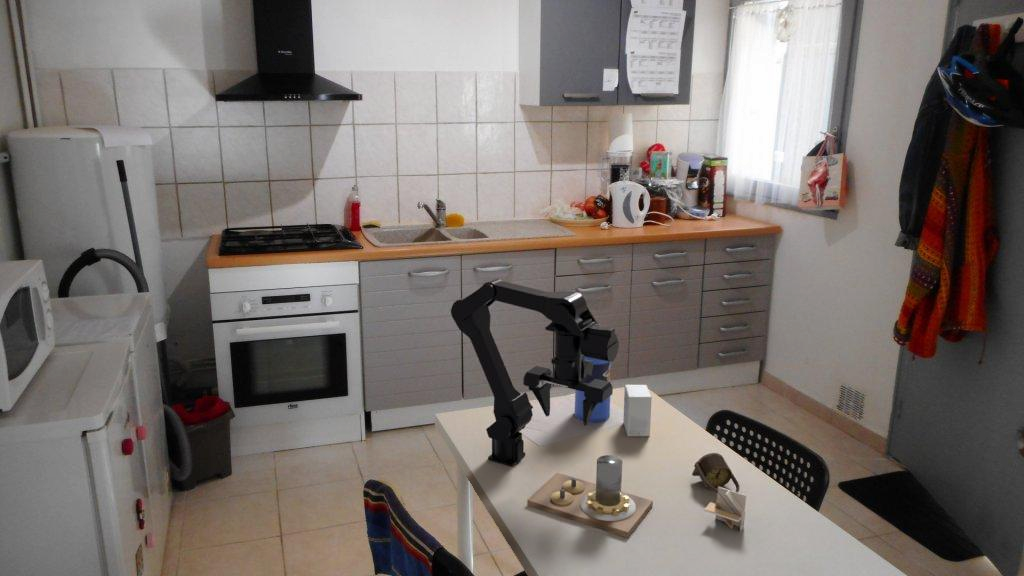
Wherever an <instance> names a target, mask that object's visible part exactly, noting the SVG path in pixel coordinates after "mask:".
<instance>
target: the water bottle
mask: <svg viewBox="0 0 1024 576" xmlns="http://www.w3.org/2000/svg"><path fill="white" fill-rule="evenodd" d="M594 326H599V327H603V326H602V324H600V323H599V322H597V324H596V325H594ZM582 355H583V354H582ZM584 357H585V356H584ZM585 360H589V361H593V362H594V363H593V368H592V374H591V376H590V375H586V378H585V379H581V382H585V383H590V382H592V381H593V380H594V379H599V380H603V381H608V382H610V383H611V378H610V374H611V373H610V372H611V368H612V367H611V366H612V362H608V361H604V360H599V359H594V358H589V357H585ZM574 393H575V394H574V417H575V418H576V419H578V420H580V421H581V422H583V400H584V399H586V398H585V396H584V392H583V391H579V390H574ZM610 411H611V396H610V397H608V398H607V399H606V400H605V401H604V402H602V403H598V404H597V405H596V406H595V408H594V410H593V413H592V415H591V418H590V420H589V423H592V424H593V423H594V424H595V423H597V424H598V423H603V422H605V420H606V421H607V420H609V418H610V415H611V413H610ZM602 421H603V422H602Z"/></svg>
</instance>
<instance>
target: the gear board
mask: <svg viewBox="0 0 1024 576" xmlns="http://www.w3.org/2000/svg"><path fill="white" fill-rule="evenodd" d="M595 492H596V483H593V482H591V481H587V480H583V479H580V478H577V477H574V476H570V475H567V474H562V473H560V472H556V473H554V474H553V476H552V477H551V478H549V479H547V481H546V482H545V483H544V484H543V485H542V486H541V487H540V488H538V489H537V490H536V491H535V492H534V493H533V494H532V495H531V496H530V497H529V498H528V499H527V500H526V505H527V506H528V507H531V508H535V509H538V510H541V511H545V512H548V513H550V514H553V515H557V516H560V517H562V518H566V519H569V520H571V521H574V522H578V523H580V524H584V525H588V526H590V527H593V528H597V529H600V530H603V531H606V532H608V533H611V534H615V535H618V536H621V537H624V538H626V539H628V538H629V537H630V536H631V535H632V533H633V531H634V530H635V529H636V528H637V527H638V525H639V524H640V523H641V522H642V520H643V519H644V517H645V516H646V515H647V514H648V512H649V511H650V510H651V509H652V507H653V503H654V502H653V501H654V500H652V499H649V498H645V497H643V496H642V497H641V496H638V495H635V494H632V493H629V492H624V491H621V494H622V495H623V496H628V497H629V510H628V511H627V512H624V511H623V512H621V513H619V514H618V516H616V517H613V516H612V515H606V514H603V515H602V516H600V515H597V514H596V511H594V510H593V509H588V508H587V501H588V500H587V495H588V494H589V493H595Z"/></svg>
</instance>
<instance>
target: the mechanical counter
mask: <svg viewBox="0 0 1024 576" xmlns="http://www.w3.org/2000/svg"><path fill="white" fill-rule="evenodd" d="M691 476H693V477H699V478H700V480H701V482H702V483H703V485H704V486H705V487H706V488H707V489H709V490H711V491H713V492H714V493H715V494H717V495H718V487H722V488H723V487H724V486H726V485H727V484H728V483H729V482H730V480H731V481H732V482H733V485H734V486H735V488H736V489H735V491H734V492H737V493H739V491H740V484H739V481H738V480H737V478H736V477H735V475H734V473H733V472H732V470H731V468H730V466H729V465H728V463H727V462H726V460H725V458H724V457H723V455H722V454H720V453H718V452H711V453H710V452H709V453H706V454H705V455H703V456H702V457H701V458H699V459H698V460H697V461H696V462H695V463H694V469H693V472H692V474H691Z"/></svg>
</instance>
